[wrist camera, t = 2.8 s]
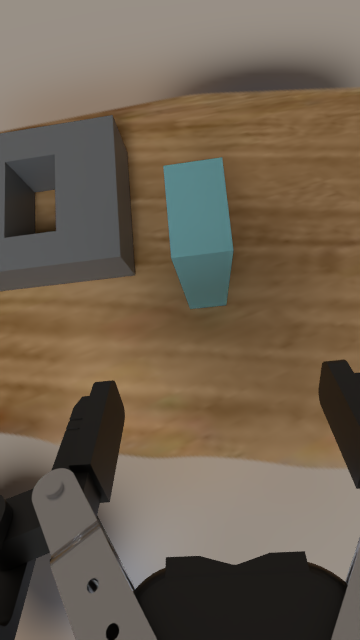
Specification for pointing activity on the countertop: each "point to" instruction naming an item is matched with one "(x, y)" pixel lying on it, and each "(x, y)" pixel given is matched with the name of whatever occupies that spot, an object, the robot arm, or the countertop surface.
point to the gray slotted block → (65, 204)
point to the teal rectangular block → (200, 230)
